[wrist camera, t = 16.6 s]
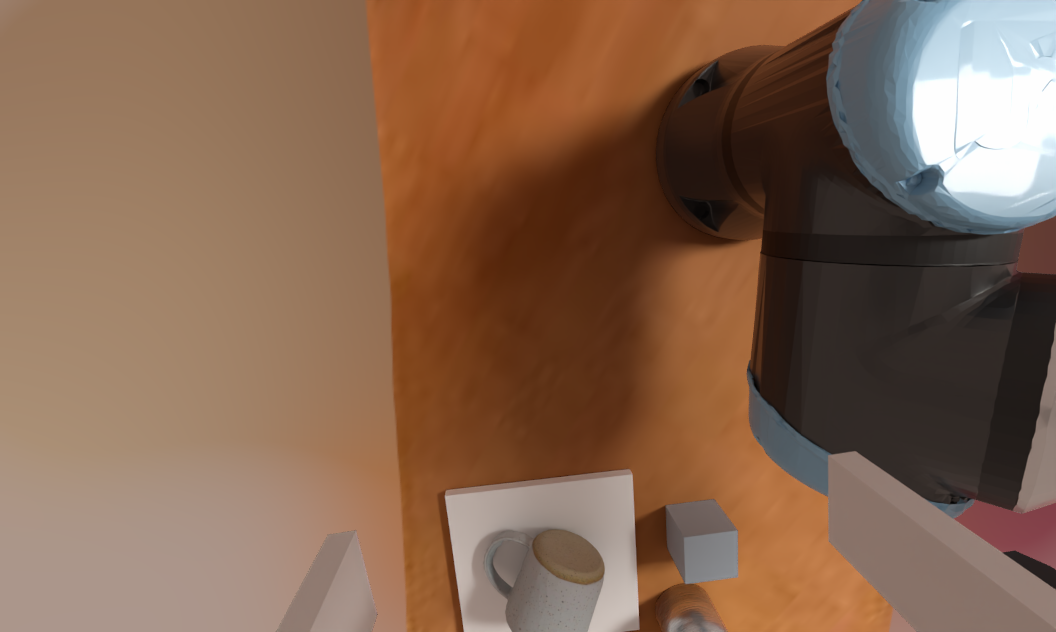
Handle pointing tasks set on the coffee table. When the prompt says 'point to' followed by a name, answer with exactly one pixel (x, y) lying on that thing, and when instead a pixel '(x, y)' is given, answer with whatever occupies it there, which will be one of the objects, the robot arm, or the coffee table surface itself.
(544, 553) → the ceramic mug
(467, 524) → the white thin square slab
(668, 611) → the metal tin
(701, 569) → the slate block
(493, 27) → the coffee table surface
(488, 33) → the coffee table surface
